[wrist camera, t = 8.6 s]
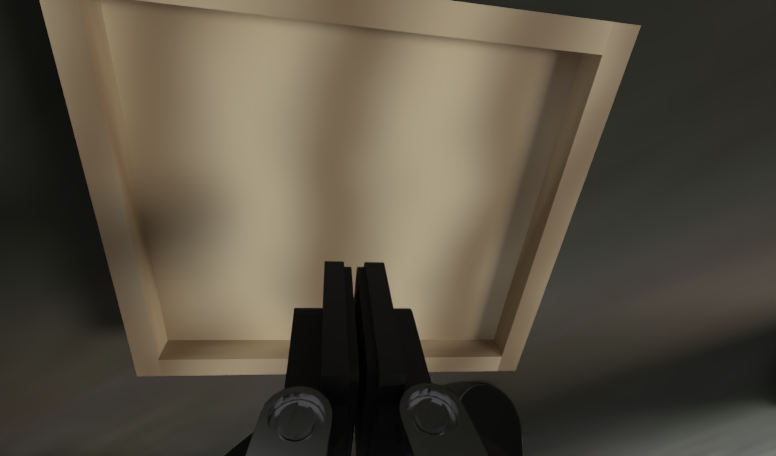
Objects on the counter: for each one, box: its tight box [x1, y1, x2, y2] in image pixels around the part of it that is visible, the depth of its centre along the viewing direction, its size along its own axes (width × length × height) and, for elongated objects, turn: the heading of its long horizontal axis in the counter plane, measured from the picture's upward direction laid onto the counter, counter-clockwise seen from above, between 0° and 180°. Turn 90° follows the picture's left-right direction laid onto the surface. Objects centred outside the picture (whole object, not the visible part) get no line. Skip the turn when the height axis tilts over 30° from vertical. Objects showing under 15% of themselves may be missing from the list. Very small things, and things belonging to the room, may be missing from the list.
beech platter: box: [39, 0, 641, 376], centre depth 17 cm, size 18×16×4 cm
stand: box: [458, 384, 523, 456], centre depth 27 cm, size 8×5×8 cm
